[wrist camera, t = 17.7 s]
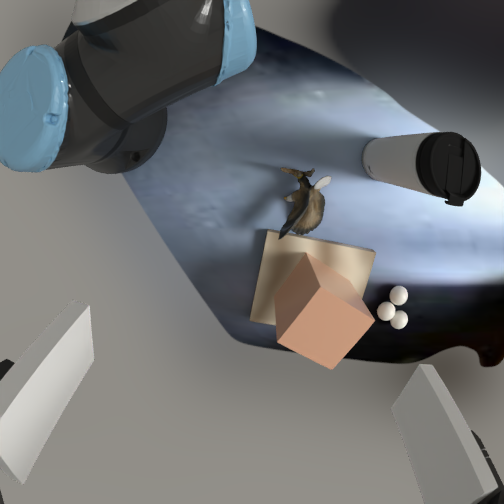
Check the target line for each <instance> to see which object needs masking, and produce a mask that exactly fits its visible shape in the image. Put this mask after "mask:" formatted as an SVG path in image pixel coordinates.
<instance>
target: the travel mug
mask: <svg viewBox="0 0 504 504" xmlns="http://www.w3.org/2000/svg"><path fill="white" fill-rule="evenodd" d="M362 165H363V168H364V170H365V171H366V173H367V174H368V175H369V176H370V177H371V178H373V179H375V180H377V181H381V182H385V183H389V184H393V185H396V186H400V187H404V188H408V189H411V190H415V191H419V192H422V193H426V194H429V195H432V196H436V197H441V198H445V199H448V201H445V203H446V204H448V205H452V206H463V203H464V201H466V200H468V199H469V198H471V197H472V196H473V195H474V193H475V192H476V191H477V189H478V186H479V183H480V179H481V165H480V160H479V156H478V154H477V152H476V150H475V148H474V146H473V145H472V143H471V142H469V141H468V140H467V139H466V138H464V137H463V136H462V135H460V134H458V133H454V132H433V133H422V134H411V135H401V136H392V137H384V138H376V139H373V140H371V141H370V142H369V143H367V144H366V146H365V147H364V150H363V152H362Z"/></svg>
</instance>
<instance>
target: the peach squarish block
mask: <svg viewBox="0 0 504 504" xmlns="http://www.w3.org/2000/svg"><path fill="white" fill-rule="evenodd" d="M274 304H275V318H276V333H277V342H278V343H280V344H282V345H284V346H286V347H288V348H289V349H291V350H293V351H295V352H297V353H299V354H301V355H303V356H305V357H307V358H309V359H311V360H313V361H315V362H317V363H319V364H321V365H323V366H325V367H327V368H329V369H331V370H332V369H333V368H334V367H335V366H336V365H337V364H338V363H339V361H340V360H341V359H342V358H343V357H344V356H345V355H346V354H347V353H348V352H349V350H350V349H351V348H352V347H353V346H354V345H355V344H356V342H357V341H358V340H359V339H360V338H361V337H362V336H363V334H364V333H365V332H366V331H367V330H368V328H369V327H370V326H371V325H372V324H373V322H374V321H375V320H374V318H373V316H372V315H371V313H370V312H369V310H368V308H367V307H366V305H365V304H364V302H363V301H362V299H361V297H360V296H359V294H358V293H357V291H356V290H355V288H354V287H353V285H352V283H351V282H350V280H348V279H347V278H345V277H344V276H342V275H340V274H339V273H337V272H336V271H334V270H333V269H331V268H330V267H328V266H327V265H325V264H324V263H322V262H321V261H319V260H317V259H316V258H314V257H313V256H311V255H310V254H308V253H307V252H306V253H305V254H304V255H303V257H302V258H301V260H300V261H299V263H298V264H297V265H296V267H295V268H294V270H293V271H292V272H291V274H290V275H289V276H288V278H287V279H286V281H285V282H284V283H283V285H282V286H281V287H280V289H279V290H278V292H277V293H276V294H275V296H274Z"/></svg>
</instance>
